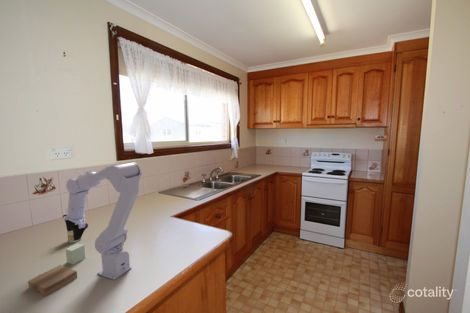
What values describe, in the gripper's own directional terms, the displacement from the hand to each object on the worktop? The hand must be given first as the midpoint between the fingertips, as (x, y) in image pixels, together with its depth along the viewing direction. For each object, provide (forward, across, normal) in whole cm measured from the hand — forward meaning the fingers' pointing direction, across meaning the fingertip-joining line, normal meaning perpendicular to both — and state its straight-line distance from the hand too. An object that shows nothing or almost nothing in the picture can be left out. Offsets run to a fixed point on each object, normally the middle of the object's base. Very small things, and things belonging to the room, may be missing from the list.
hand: (73, 234), depth 92 cm
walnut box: (+9, +13, -9) cm, 18 cm away
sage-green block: (+11, +3, +1) cm, 11 cm away
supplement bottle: (+16, -17, +7) cm, 24 cm away
